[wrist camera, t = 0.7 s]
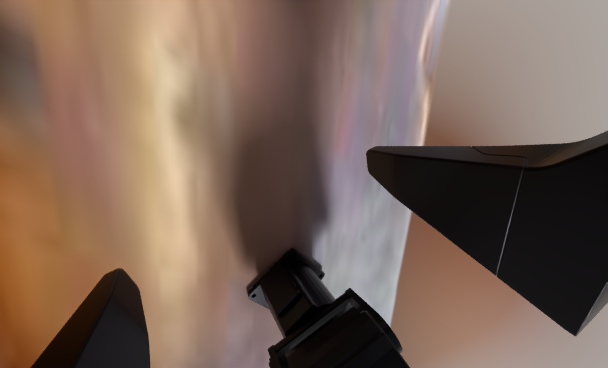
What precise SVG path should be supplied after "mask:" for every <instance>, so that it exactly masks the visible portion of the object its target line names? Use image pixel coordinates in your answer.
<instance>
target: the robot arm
mask: <svg viewBox="0 0 608 368" xmlns="http://www.w3.org/2000/svg"><path fill="white" fill-rule="evenodd" d="M366 156H367V167H368V171H369V173H370V174H371V175H372V176H373V177H374V178H375V179H376V180H377V181H378V182H379V183H380V184H381V185H382V186H383V187H384V188H385V189H386V190H387V191H388V192H389V193H390V194H391V195H393V196H394V197H395V198H396V199H397V200H398V201H400V202H401V203H402V204H404V205H405V206H406V207H407V208H409V209H410V210H411V211H413V212H414V213H415V214H416V215H418V216H419V217H420V218H422V219H423V220H424V221H426V222H427V223H428V224H429V225H431V226H432V227H433V228H435V229H436V230H437V231H438V232H440V233H441V234H442V235H444V236H445V237H446V238H448V239H449V240H450V241H452V242H453V243H454V244H455V245H457V246H458V247H459V248H461V249H462V250H463V251H464V252H466V253H467V254H468V255H470V256H471V257H472V258H473V259H475V260H476V261H477V262H479V263H480V264H482V265H483V266H484V267H485V268H487V269H488V270H489V271H491V272H492V273H493V274H494V275H497V277H498V278H499V279H500V280H502V281H503V282H504V283H506V284H507V285H508V286H509V287H511V288H512V289H513V290H515V291H516V292H517V293H519V294H520V295H521V296H523V297H524V298H525V299H526V300H528V301H529V302H530V303H531V304H533V305H534V306H535V307H537V308H538V309H539V310H541V311H542V312H543V313H544V314H546V315H547V316H548V317H550V318H551V319H552V320H553V321H555V322H556V323H557V324H559V325H560V326H561V327H563V328H564V329H565V330H567V331H568V332H569V333H571V334H573V335H574V336H577V335H578V334H579V333H580V332H581V331H582V330H583V328H584V327H585V326H586V325H587V324H588V323H589V322H590V321H591V320H592V319H593V318H594V317H595V316H596V315H597V313H598V312H599V311H600V310H601V309H602V308H603V307H604V306H605V305H606V304H607V303H608V131H606V132H604V133H601V134H599V135H597V136H594V137H592V138H589V139H586V140H582V141H578V142H573V143H563V144H542V145H541V144H540V145H518V146H517V145H515V146H472V147H471V146H376V147H373V148H371V149H369V150H368V151H367V153H366ZM293 253H294V254H293ZM324 275H325V274H324V272H323V271H322V270H321V269H320V268H318V267H317V266H316V265H315V264H313V263H312V262H311V261H310V260H308V259H307V258H306V257H305V256H303V255H302V254H301V253H300V252H298V251H297V250H296V249H290V250H289V251H288V252H287V253H286V254H285V255H284V256H283V257H282V258H281V259H280V260H279V261H278V262H277V263H276V264H275V265H274V266H273V267H272V268H271V269H270V271H269V272H268V273H267V274H266V275H265V276H264V277H263V278H262V279H261V280H260V281H259V282H258V283H257V284H256V285H255V286H254V287H253V288H252V289H251V290H250V291H249V292H248V297H249V299H250V300H252V301H254V302H256V303H258V304H260V305H262V306H264V307H266V308H268V309H270V311H271V313H272V315H273V317H274V319H275V321H276V323H277V325H278V327H279V329H280V331H281V333H282V335H283V337H284V339H282V340H281V341H280V342H278V343H277V344H276V345H272V346H271V347H270V348H268V352H269V355H270V359H269V360H270V362H269V366H270V368H410V367H409V366H408V364H407V363H406V362H405V360H404V359H403V358H402V356H401V355H400V353H401V352H402V347H401V345H400V342H399V340H398V339H397V337H396V335H395V334H394V333H393V331H392V330H391V328H390V327H389V325H388V324H387V323H386V322H385V320H384V319H383V318H382V317H381V316H380V315H379V314H378V313H377V312H376V311H375V310H374V309H373V308H372V307H371V306H369V305H368V304H367V303H366V302H365V301H364V300H363V299H362V298H361V297H359V296H358V295H357V294H356V293H355V292H354V291H353V290H352V289H351V288H349V289H348V290H346V291H345V293H344V294H343V295H341V296H340V297H339V298H337V299H335V298H334V297H333V296H332V294H331V293H330V292H329V290H328V289H327V288H326V287H325V285H324V284H323V283H322V281H321V279H322V278H323V277H324ZM31 368H150V353H149V338H148V332H147V326H146V321H145V316H144V311H143V306H142V300H141V295H140V291H139V288H138V287H137V285H136V284H135V283H134V281H133V280H132V279H131V278H130V277H129V275H128V274H127V273H126V272H125V271H124V270H123V269H121V268H118V269H115V270H113V271H111V272H109V273H107V274H105V275H104V276H103V277H102V279H101V280H100V281H99V282H98V284H97V285H96V286H95V287H94V289H93V290H92V291H91V292H90V294H89V295H88V296H87V297H86V299H85V300H84V301H83V302H82V304H81V305H80V306H79V307H78V309H77V310H76V311H75V312H74V314H73V315H72V316H71V318H70V319H69V320H68V321H67V323H66V324H65V325H64V326H63V328H62V329H61V330H60V331H59V333H58V334H57V335H56V336H55V338H54V339H53V340H52V341H51V343H50V344H49V345H48V346H47V348H46V349H45V350H44V351H43V353H42V354H41V355H40V356H39V358H38V359H37V360H36V361H35V363H34V364H33V365H32V366H31Z"/></svg>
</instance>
